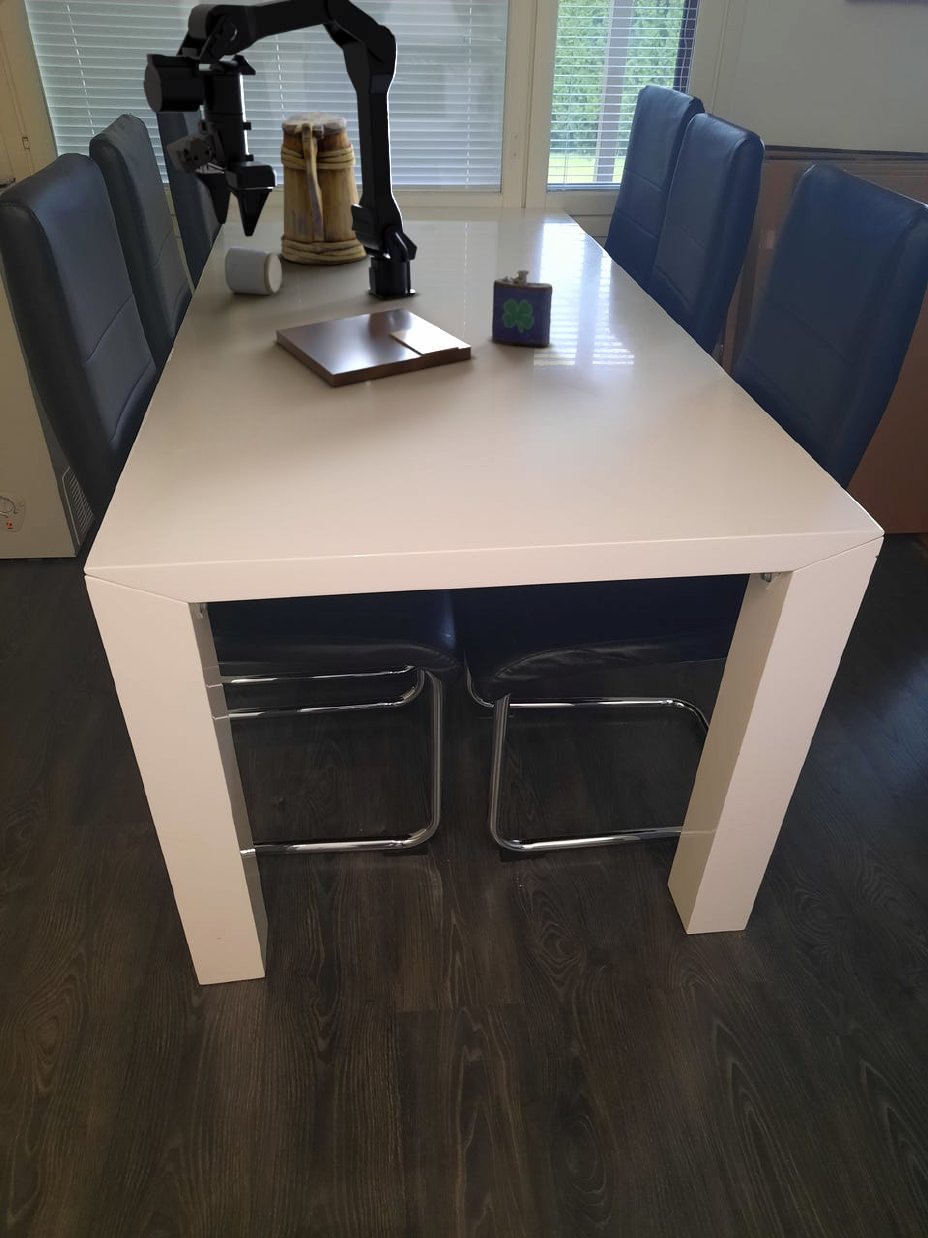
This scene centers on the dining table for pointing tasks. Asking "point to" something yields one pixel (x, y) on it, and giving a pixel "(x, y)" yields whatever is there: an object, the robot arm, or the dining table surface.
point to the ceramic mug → (252, 271)
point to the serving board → (371, 346)
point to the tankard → (318, 190)
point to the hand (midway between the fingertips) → (235, 229)
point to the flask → (521, 311)
